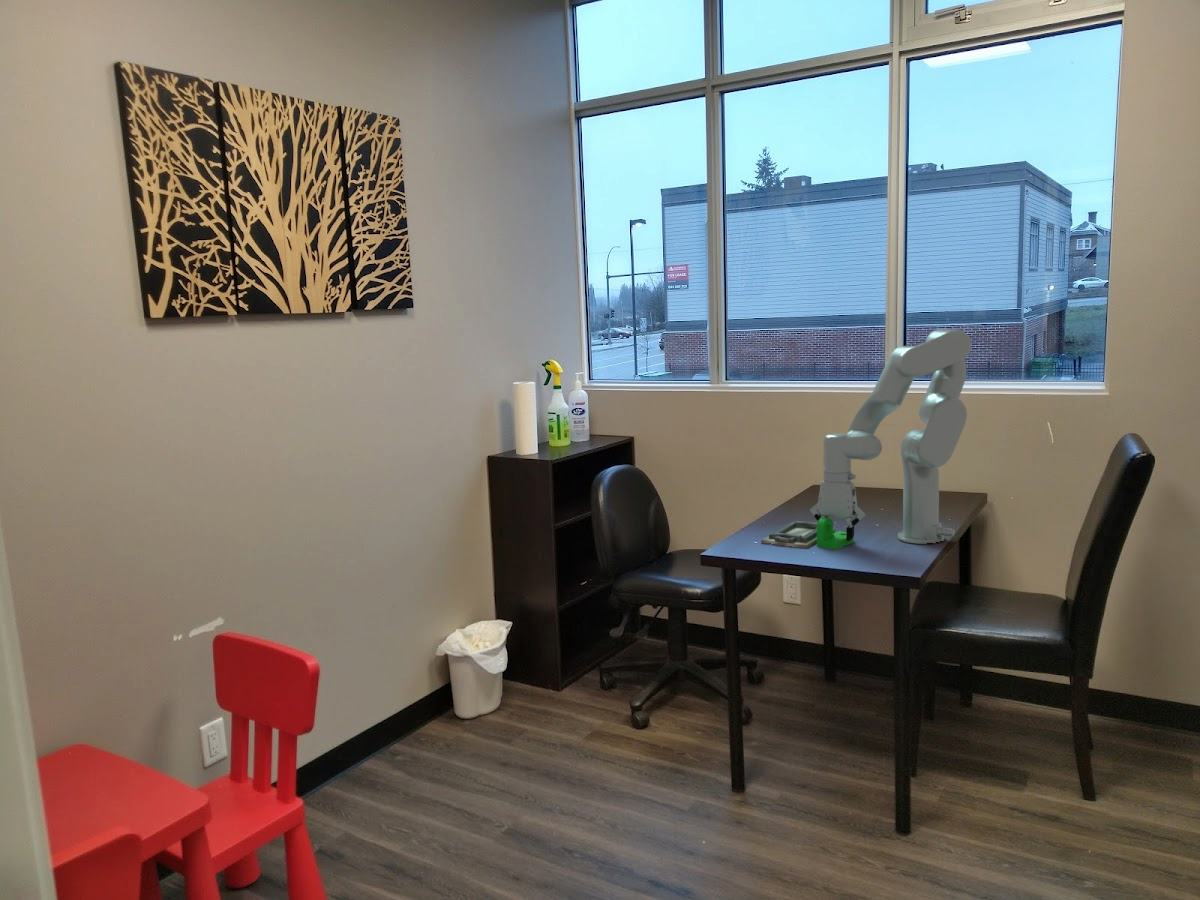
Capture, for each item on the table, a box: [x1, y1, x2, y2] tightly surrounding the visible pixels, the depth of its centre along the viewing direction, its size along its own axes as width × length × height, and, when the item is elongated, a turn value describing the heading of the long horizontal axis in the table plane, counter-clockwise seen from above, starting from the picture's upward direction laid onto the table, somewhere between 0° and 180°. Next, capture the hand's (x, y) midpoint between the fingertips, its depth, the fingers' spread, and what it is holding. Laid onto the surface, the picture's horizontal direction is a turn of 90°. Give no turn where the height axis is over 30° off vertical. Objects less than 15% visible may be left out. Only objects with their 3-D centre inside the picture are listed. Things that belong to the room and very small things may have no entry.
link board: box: [760, 520, 836, 550], centre depth 256 cm, size 14×22×3 cm, turn 144°
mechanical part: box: [816, 517, 855, 550], centre depth 246 cm, size 12×6×8 cm, turn 134°
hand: (837, 538), depth 247 cm, fingers closed on mechanical part, 6 cm apart
